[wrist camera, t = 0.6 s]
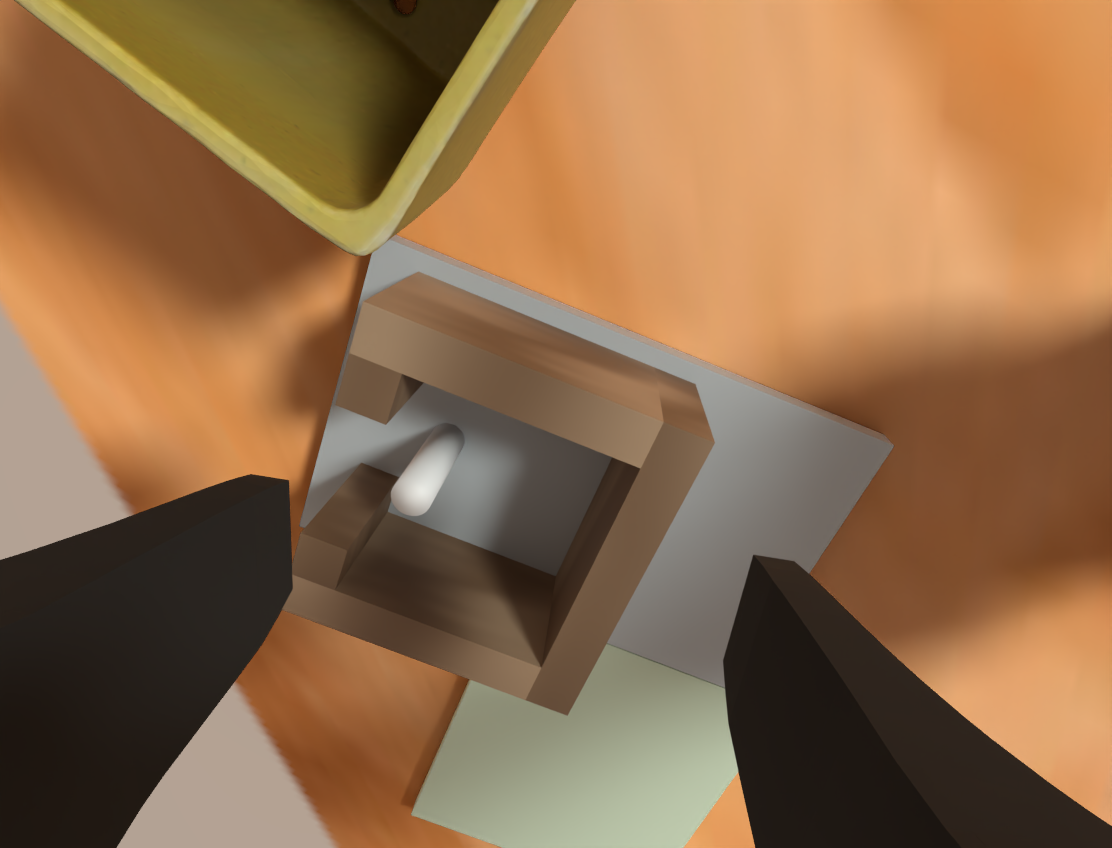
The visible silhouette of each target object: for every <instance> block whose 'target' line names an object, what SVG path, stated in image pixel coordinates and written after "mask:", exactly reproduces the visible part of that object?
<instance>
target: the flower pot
mask: <svg viewBox="0 0 1112 848" xmlns="http://www.w3.org/2000/svg"><path fill="white" fill-rule="evenodd" d="M14 1H16V2H17V3H18V4H20V5H21V6H22V7H23V8H25V9H26V10H27V11H29V12H30V13H31V14H32V15H34V16H35V17H36V18H38V19H39V20H40V21H41V22H43V23H44V24H45V25H47V26H48V27H49V28H50V29H52V30H53V31H54V32H56V33H57V34H58V35H60V36H61V37H62V38H64V39H65V40H66V41H67V42H69V43H70V44H71V45H73V46H74V47H75V48H77V49H78V50H79V51H81V52H82V53H83V54H85V55H86V56H87V57H89V58H90V59H91V60H93V61H94V62H95V63H97V64H98V65H99V66H101V67H102V68H103V69H104V70H106V71H107V72H108V73H110V74H111V75H112V76H113V77H115V78H116V79H117V80H119V81H120V82H121V83H122V84H124V85H125V86H126V87H127V88H129V89H130V90H131V91H132V92H134V93H135V94H136V95H137V96H139V97H140V98H141V99H143V100H144V101H145V102H146V103H148V104H149V105H150V106H152V107H153V108H155V109H156V110H157V111H159V112H160V113H161V114H163V115H164V116H165V117H167V118H168V119H170V120H171V121H172V122H173V123H175V124H176V125H177V126H179V127H180V128H181V129H183V130H184V131H185V132H187V133H188V134H189V135H190V136H192V137H193V138H194V139H196V140H197V141H198V142H199V143H201V144H202V145H203V146H205V147H206V148H207V149H208V150H210V151H211V152H212V153H213V154H214V155H216V156H217V157H218V158H219V159H220V160H222V161H223V162H224V163H225V164H227V165H228V166H229V167H230V168H232V169H233V170H234V171H236V172H237V173H239V174H240V175H241V176H243V177H244V178H245V179H247V180H248V181H249V182H251V183H252V184H253V185H255V186H256V187H257V188H259V189H260V190H261V191H263V192H264V193H265V194H267V195H268V196H269V197H271V198H272V199H273V200H275V201H276V202H277V203H278V204H280V205H281V206H282V207H283V208H284V209H286V210H287V211H288V212H290V213H291V214H293V215H294V216H295V217H296V218H298V219H299V220H300V221H302V222H303V223H304V224H306V225H307V226H308V227H309V228H311V229H312V230H314V231H315V232H317V233H318V234H320V235H321V236H323V237H324V238H326V239H327V240H329V241H331V242H332V243H333V244H335V245H336V246H338V247H339V248H341V249H342V250H344V251H346V252H348V253H350V254H352V255H355V256H365V255H368V254H370V253H373V252H374V251H376V250H378V249H379V248H380V247H381V246H382V245H384V244H385V243H386V242H387V241H388V240H389V239H391V238H392V237H393V236H394V235H396V234H397V233H398V232H399V231H401V230H402V229H403V228H405V227H406V226H407V225H408V224H410V223H411V222H412V221H413V220H414V219H416V218H417V217H418V216H419V215H420V214H422V213H423V212H424V211H425V210H426V209H427V208H428V207H429V206H431V205H432V204H433V203H434V202H435V201H436V200H437V199H439V198H440V197H441V196H442V195H443V194H444V193H445V192H447V191H448V190H449V189H450V187H451V186H452V185H453V184H454V183H455V182H456V181H457V180H458V179H459V177H460V176H461V174H462V173H463V172H464V170H465V169H466V168H467V166H468V165H469V163H470V161H471V160H472V158H473V157H474V155H475V154H476V152H477V150H478V149H479V147H480V146H481V144H482V142H483V141H484V139H485V138H486V136H487V135H488V133H489V132H490V130H491V128H492V127H493V125H494V124H495V122H496V121H497V119H498V118H499V116H500V115H501V113H502V111H503V110H504V108H505V107H506V105H507V104H508V102H509V101H510V99H511V98H512V96H513V94H514V93H515V91H516V90H517V88H518V87H519V85H520V84H521V82H522V81H523V79H524V78H525V76H526V74H527V73H528V71H529V70H530V68H531V67H532V65H533V64H534V62H535V61H536V59H537V58H538V56H539V55H540V53H541V52H542V50H543V49H544V47H545V46H546V44H547V43H548V41H549V40H550V38H551V37H552V35H553V34H554V32H555V31H556V29H557V28H558V26H559V25H560V23H561V22H562V20H563V19H564V17H565V16H566V14H567V13H568V11H569V10H570V8H571V7H572V5H573V4H574V2H575V1H576V0H417V1H416V7H415V9H414V10H413V11H412V12H411V13H410V14H402V13H401V12H399V11H398V10H397V8H396V7H395V4H394V0H14Z"/></svg>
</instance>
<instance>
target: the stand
mask: <svg viewBox="0 0 1112 848" xmlns="http://www.w3.org/2000/svg"><path fill="white" fill-rule="evenodd" d="M418 271H419V272H421V273H424V274H426V275H429V276H431V277H434V278H436V279H438V280H441V281H443V282H446V283H448V284H451V285H453V286H456V287H458V288H461V289H463V290H465V291H468V292H470V293H473V294H475V295H478V296H480V297H483V298H485V299H488V300H490V301H493V302H495V303H497V304H500V305H502V306H505V307H507V308H510V309H512V310H515V311H517V312H520V313H522V314H524V315H527V316H529V317H532V318H534V319H537V320H539V321H542V322H544V323H547V324H549V325H552V326H554V327H556V328H559V329H561V330H564V331H566V332H569V333H571V334H574V335H576V336H579V337H581V338H584V339H586V340H588V341H591V342H593V343H596V344H598V345H601V346H603V347H606V348H608V349H611V350H613V351H615V352H618V353H620V354H623V355H625V356H628V357H630V358H633V359H635V360H638V361H640V362H643V363H645V364H647V365H650V366H652V367H655V368H657V369H660V370H662V371H665V372H667V373H670V374H672V375H674V376H677V377H679V378H682V379H684V380H687V381H689V382H692V383H694V384H696V387H697V390H698V393H699V396H700V399H701V402H702V405H703V408H704V411H705V414H706V417H707V420H708V423H709V426H710V429H711V432H712V435H713V438H714V441H715V444H714V446H713V448H712V450H711V451H710V453H709V455H708V457H707V459H706V461H705V462H704V464H703V466H702V468H701V470H700V472H699V474H698V475H697V477H696V479H695V481H694V483H693V485H692V487H691V488H690V490H689V492H688V494H687V496H686V498H685V499H684V501H683V503H682V505H681V507H680V509H679V511H678V512H677V514H676V516H675V518H674V520H673V522H672V524H671V525H670V527H669V529H668V531H667V533H666V535H665V536H664V538H663V540H662V542H661V544H660V546H659V548H658V549H657V551H656V553H655V555H654V557H653V559H652V561H651V562H650V564H649V566H648V568H647V570H646V572H645V573H644V575H643V577H642V579H641V581H640V583H639V585H638V586H637V588H636V590H635V592H634V594H633V596H632V598H631V599H630V601H629V603H628V605H627V607H626V609H625V610H624V612H623V614H622V616H621V618H620V620H619V622H618V623H617V625H616V627H615V629H614V631H613V633H612V635H611V636H610V638H609V640H608V642H607V643H608V644H611V645H614V646H616V647H619V648H622V649H624V650H627V651H630V652H632V653H635V654H637V655H640V656H643V657H645V658H648V659H651V660H653V661H656V662H659V663H661V664H664V665H666V666H669V667H672V668H674V669H677V670H680V671H682V672H685V673H688V674H690V675H693V676H695V677H698V678H701V679H703V680H706V681H709V682H711V683H714V684H717V685H719V686H722V687H724V688H725V682H724V669H723V659H724V655H725V652H726V648H727V645H728V641H729V638H730V634H731V631H732V627H733V624H734V620H735V617H736V613H737V610H738V606H739V603H740V599H741V596H742V592H743V589H744V585H745V582H746V578H747V575H748V571H749V568H750V564H751V561H752V557H753V555H759V556H766V557H772V558H778V559H784V560H791V561H795V562H796V563H797V564H798V565H799V566H801V567H802V568H803V569H804V570H805V571H806V572H807V573H810V572H811V570H812V569H813V567H814V566H815V564H816V563H817V561H818V560H819V558H820V557H821V555H822V554H823V552H824V551H825V549H826V548H827V546H828V545H829V543H830V542H831V540H832V539H833V537H834V536H835V534H836V533H837V531H838V530H839V528H840V527H841V525H842V524H843V522H844V521H845V519H846V518H847V516H848V515H849V513H850V512H851V510H852V509H853V507H854V506H855V504H856V503H857V501H858V500H859V498H860V497H861V495H862V494H863V492H864V491H865V489H866V488H867V486H868V485H869V483H870V482H871V480H872V479H873V477H874V476H875V474H876V473H877V471H878V470H879V468H880V467H881V465H882V464H883V462H884V461H885V459H886V458H887V456H888V455H889V453H890V452H891V450H892V449H893V447H894V445H893V444H892V443H891V442H890V441H889V439H888V438H887V437H886V436H885V435H884V434H881V433H879V432H877V431H874V430H872V429H869V428H867V427H864V426H862V425H859V424H857V423H855V422H852V421H850V420H847V419H845V418H842V417H840V416H837V415H835V414H833V413H830V412H828V411H825V410H823V409H820V408H818V407H815V406H813V405H811V404H808V403H806V402H803V401H801V400H798V399H796V398H793V397H791V396H789V395H786V394H784V393H781V392H779V391H776V390H774V389H771V388H769V387H767V386H764V385H762V384H759V383H757V382H754V381H752V380H749V379H747V378H745V377H742V376H740V375H737V374H735V373H732V372H730V371H727V370H725V369H723V368H720V367H718V366H715V365H713V364H710V363H708V362H705V361H703V360H701V359H698V358H696V357H693V356H691V355H688V354H686V353H683V352H681V351H679V350H676V349H674V348H671V347H669V346H666V345H664V344H662V343H659V342H657V341H654V340H652V339H649V338H647V337H644V336H642V335H640V334H637V333H635V332H632V331H630V330H627V329H625V328H622V327H620V326H618V325H615V324H613V323H610V322H608V321H605V320H603V319H600V318H598V317H596V316H593V315H591V314H588V313H586V312H583V311H581V310H578V309H576V308H574V307H571V306H569V305H566V304H564V303H561V302H559V301H556V300H554V299H552V298H549V297H547V296H544V295H542V294H539V293H537V292H534V291H532V290H530V289H527V288H525V287H522V286H520V285H517V284H515V283H512V282H510V281H508V280H505V279H503V278H500V277H498V276H495V275H493V274H490V273H488V272H486V271H483V270H481V269H478V268H476V267H473V266H471V265H468V264H466V263H464V262H461V261H459V260H456V259H454V258H451V257H449V256H446V255H444V254H442V253H439V252H437V251H434V250H432V249H429V248H427V247H424V246H422V245H420V244H417V243H415V242H412V241H410V240H407V239H405V238H402V237H400V236H398V235H394V236H393V237H392V238H391V239H389V240H388V241H387V242H386V243H385V244H384V245H382V246H381V247H380V248H379V249H378V250H376V251H374V252H373V253H372V255H371V259H370V263H369V266H368V270H367V274H366V278H365V281H364V285H363V289H362V293H361V296H360V300H359V304H358V308H357V311H356V315H355V319H354V323H353V326H352V330H351V334H350V338H349V341H348V345H347V349H346V352H345V356H344V360H343V364H342V367H341V371H340V375H339V379H338V382H337V386H336V390H335V394H334V397H333V401H332V405H331V409H330V412H329V416H328V420H327V424H326V427H325V431H324V435H323V439H322V442H321V446H320V450H319V454H318V457H317V461H316V465H315V469H314V472H313V476H312V480H311V484H310V487H309V491H308V495H307V498H306V502H305V506H304V510H303V513H302V517H301V521H300V525H299V526H300V527H303V528H305V527H306V526H307V525H308V524H309V523H310V521H311V520H312V519H313V518H314V517H315V516H316V514H317V513H318V512H319V511H320V510H321V509H322V508H323V506H324V505H325V504H326V503H327V502H328V501H329V499H330V498H331V497H332V496H333V495H334V494H335V492H336V491H337V490H338V489H339V488H340V487H341V486H342V484H343V483H344V482H345V481H346V480H347V479H348V477H349V476H350V475H351V474H352V473H353V472H354V471H355V469H356V468H357V467H358V466H359V465H360V464H361V463H364V464H366V465H369V466H372V467H374V468H377V469H379V470H382V471H384V472H387V473H390V474H392V475H395V476H397V477H399V479H398V481H397V482H396V483H395V485H394V486H393V488H392V490H391V503H390V506H389V509H388V512H390V513H392V514H395V515H398V516H400V517H403V518H405V519H408V520H411V521H413V522H416V523H418V524H421V525H424V526H426V527H429V528H431V529H434V530H437V531H439V532H442V533H444V534H447V535H450V536H452V537H455V538H458V539H460V540H463V541H465V542H468V543H471V544H473V545H476V546H478V547H481V548H484V549H486V550H489V551H491V552H494V553H497V554H499V555H502V556H504V557H507V558H510V559H512V560H515V561H517V562H520V563H523V564H525V565H528V566H530V567H533V568H536V569H538V570H541V571H543V572H546V573H549V574H551V575H554V576H556V575H557V573H558V571H559V569H560V567H561V564H562V562H563V560H564V558H565V556H566V554H567V552H568V550H569V548H570V545H571V543H572V541H573V539H574V537H575V535H576V533H577V531H578V529H579V526H580V524H581V522H582V520H583V518H584V516H585V514H586V512H587V510H588V507H589V505H590V503H591V501H592V499H593V497H594V495H595V493H596V491H597V488H598V486H599V484H600V482H601V480H602V478H603V476H604V474H605V472H606V469H607V467H608V465H609V463H610V461H611V459H612V457H610V456H608V455H605V454H603V453H600V452H598V451H595V450H593V449H590V448H588V447H585V446H583V445H580V444H578V443H575V442H573V441H570V440H567V439H565V438H562V437H560V436H557V435H555V434H552V433H550V432H547V431H545V430H542V429H540V428H537V427H535V426H532V425H530V424H527V423H525V422H522V421H520V420H517V419H515V418H512V417H510V416H507V415H504V414H502V413H499V412H497V411H494V410H492V409H489V408H487V407H484V406H482V405H479V404H477V403H474V402H472V401H469V400H467V399H464V398H462V397H459V396H457V395H454V394H452V393H449V392H447V391H444V390H441V389H439V388H436V387H434V386H431V385H429V384H426V383H423V384H422V385H421V386H420V388H419V389H418V390H417V391H416V392H415V393H414V394H413V395H412V396H411V398H410V399H409V400H408V401H407V402H406V403H405V404H404V405H403V407H402V408H401V409H400V410H399V411H398V412H397V413H396V414H395V415H394V417H393V418H392V419H391V420H390V421H389V422H388V423H387V424H386V425H385V424H382V423H380V422H377V421H374V420H372V419H369V418H367V417H364V416H362V415H359V414H357V413H354V412H351V411H349V410H346V409H344V408H341V407H339V406H336V405H335V404H336V400H337V396H338V392H339V389H340V385H341V381H342V378H343V374H344V370H345V366H346V363H347V359H348V355H349V352H350V348H351V344H352V340H353V337H354V333H355V329H356V326H357V322H358V318H359V315H360V311H361V307H362V303H363V301H364V300H366V299H368V298H370V297H372V296H374V295H376V294H377V293H379V292H381V291H383V290H385V289H387V288H389V287H391V286H392V285H394V284H396V283H398V282H400V281H402V280H404V279H405V278H407V277H409V276H411V275H413V274H415V273H417V272H418Z"/></svg>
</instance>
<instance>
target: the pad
mask: <svg viewBox="0 0 1112 848" xmlns="http://www.w3.org/2000/svg"><path fill="white" fill-rule="evenodd" d="M737 773H738V767H737V762H736V758H735V753H734V748H733V744H732V739H731V734H730V729H729V724H728V715H727V705H726V695H725V688H724V687H722V686H719V685H717V684H714V683H711V682H709V681H706V680H703V679H701V678H698V677H695V676H693V675H690V674H688V673H685V672H682V671H680V670H677V669H674V668H672V667H669V666H666V665H664V664H661V663H659V662H656V661H653V660H651V659H648V658H645V657H643V656H640V655H637V654H635V653H632V652H630V651H627V650H624V649H622V648H619V647H616V646H614V645H611V644H608V643H607V644H606V646H605V647H604V649H603V651H602V653H601V655H600V657H599V659H598V660H597V662H596V664H595V666H594V668H593V670H592V672H591V673H590V675H589V677H588V679H587V681H586V683H585V684H584V686H583V688H582V690H581V692H580V694H579V696H578V697H577V699H576V701H575V703H574V705H573V707H572V709H571V710H570V712H569V714H568V716H567V715H564V714H561V713H558V712H556V711H553V710H550V709H548V708H545V707H542V706H540V705H537V704H534V703H532V702H529V701H526V700H523V699H521V698H518V697H515V696H513V695H510V694H507V693H505V692H502V691H499V690H497V689H494V688H491V687H488V686H486V685H483V684H480V683H478V682H475V681H472V680H470V679H469V681H468V683H467V686H466V688H465V690H464V692H463V695H462V697H461V699H460V701H459V704H458V706H457V708H456V710H455V713H454V715H453V717H452V720H451V722H450V724H449V726H448V729H447V731H446V733H445V735H444V738H443V740H442V742H441V744H440V747H439V749H438V751H437V753H436V756H435V758H434V760H433V762H432V765H431V767H430V769H429V771H428V774H427V776H426V778H425V781H424V783H423V785H422V787H421V790H420V792H419V794H418V796H417V799H416V801H415V804H414V807H413V810H412V813H411V815H412V816H415V817H418V818H421V819H424V820H426V821H429V822H432V823H435V824H438V825H440V826H443V827H446V828H449V829H452V830H454V831H457V832H460V833H463V834H466V835H468V836H471V837H474V838H477V839H480V840H482V841H485V842H488V843H491V844H494V845H496V846H499V847H502V848H683V847H684V846H685V845H686V843H687V842H688V841H689V839H690V838H691V836H692V835H693V834H694V832H695V831H696V829H697V828H698V827H699V825H700V824H701V823H702V821H703V820H704V818H705V817H706V816H707V814H708V813H709V811H710V810H711V809H712V807H713V806H714V805H715V803H716V802H717V800H718V799H719V798H720V796H721V795H722V793H723V792H724V791H725V789H726V788H727V786H728V785H729V784H730V782H731V781H732V780H733V778H734V777H735V775H736V774H737Z"/></svg>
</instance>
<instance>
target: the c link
mask: <svg viewBox="0 0 1112 848" xmlns="http://www.w3.org/2000/svg"><path fill="white" fill-rule="evenodd" d="M423 383H426V384H429V385H431V386H434V387H436V388H439V389H441V390H444V391H447V392H449V393H452V394H454V395H457V396H459V397H462V398H464V399H467V400H469V401H472V402H474V403H477V404H479V405H482V406H484V407H487V408H489V409H492V410H494V411H497V412H499V413H502V414H504V415H507V416H510V417H512V418H515V419H517V420H520V421H522V422H525V423H527V424H530V425H532V426H535V427H537V428H540V429H542V430H545V431H547V432H550V433H552V434H555V435H557V436H560V437H562V438H565V439H567V440H570V441H573V442H575V443H578V444H580V445H583V446H585V447H588V448H590V449H593V450H595V451H598V452H600V453H603V454H605V455H608V456H610V457H612V459H611V461H610V463H609V465H608V467H607V469H606V472H605V474H604V476H603V478H602V480H601V482H600V484H599V486H598V488H597V491H596V493H595V495H594V497H593V499H592V501H591V503H590V505H589V507H588V510H587V512H586V514H585V516H584V518H583V520H582V522H581V524H580V526H579V529H578V531H577V533H576V535H575V537H574V539H573V541H572V543H571V545H570V548H569V550H568V552H567V554H566V556H565V558H564V560H563V562H562V564H561V567H560V569H559V571H558V573H557V575H556V576H554V575H551V574H549V573H546V572H543V571H541V570H538V569H536V568H533V567H530V566H528V565H525V564H523V563H520V562H517V561H515V560H512V559H510V558H507V557H504V556H502V555H499V554H497V553H494V552H491V551H489V550H486V549H484V548H481V547H478V546H476V545H473V544H471V543H468V542H465V541H463V540H460V539H458V538H455V537H452V536H450V535H447V534H444V533H442V532H439V531H437V530H434V529H431V528H429V527H426V526H424V525H421V524H418V523H416V522H413V521H411V520H408V519H405V518H403V517H400V516H398V515H395V514H392V513H390V512H388V509H389V506H390V503H391V490H392V488H393V486H394V485H395V483H396V482H397V481H398V479H399V477H397V476H395V475H392V474H390V473H387V472H384V471H382V470H379V469H377V468H374V467H372V466H369V465H366V464H364V463H361V464H360V465H359V466H358V467H357V468H356V469H355V471H354V472H353V473H352V474H351V475H350V476H349V477H348V479H347V480H346V481H345V482H344V483H343V484H342V486H341V487H340V488H339V489H338V490H337V491H336V492H335V494H334V495H333V496H332V497H331V498H330V499H329V501H328V502H327V503H326V504H325V505H324V506H323V508H322V509H321V510H320V511H319V512H318V513H317V514H316V516H315V517H314V518H313V519H312V520H311V521H310V523H309V524H308V525H307V526H306V527H305V528H304V529H303V531H302V532H301V533H300V537H299V541H298V545H297V548H296V552H295V556H294V559H293V563H292V578H293V590H292V592H291V593H290V595H289V597H288V599H287V601H286V603H285V605H284V606H283V608H282V610H284V611H286V612H289V613H292V614H295V615H297V616H300V617H303V618H305V619H308V620H311V621H313V622H316V623H319V624H321V625H324V626H327V627H330V628H332V629H335V630H338V631H340V632H343V633H346V634H348V635H351V636H354V637H356V638H359V639H362V640H365V641H367V642H370V643H373V644H375V645H378V646H381V647H383V648H386V649H389V650H391V651H394V652H397V653H400V654H402V655H405V656H408V657H410V658H413V659H416V660H418V661H421V662H424V663H426V664H429V665H432V666H435V667H437V668H440V669H443V670H445V671H448V672H451V673H453V674H456V675H459V676H462V677H464V678H467V679H470V680H472V681H475V682H478V683H480V684H483V685H486V686H488V687H491V688H494V689H497V690H499V691H502V692H505V693H507V694H510V695H513V696H515V697H518V698H521V699H523V700H526V701H529V702H532V703H534V704H537V705H540V706H542V707H545V708H548V709H550V710H553V711H556V712H558V713H561V714H564V715H567V716H568V714H569V712H570V710H571V709H572V707H573V705H574V703H575V701H576V699H577V697H578V696H579V694H580V692H581V690H582V688H583V686H584V684H585V683H586V681H587V679H588V677H589V675H590V673H591V672H592V670H593V668H594V666H595V664H596V662H597V660H598V659H599V657H600V655H601V653H602V651H603V649H604V647H605V646H606V644H607V642H608V640H609V638H610V636H611V635H612V633H613V631H614V629H615V627H616V625H617V623H618V622H619V620H620V618H621V616H622V614H623V612H624V610H625V609H626V607H627V605H628V603H629V601H630V599H631V598H632V596H633V594H634V592H635V590H636V588H637V586H638V585H639V583H640V581H641V579H642V577H643V575H644V573H645V572H646V570H647V568H648V566H649V564H650V562H651V561H652V559H653V557H654V555H655V553H656V551H657V549H658V548H659V546H660V544H661V542H662V540H663V538H664V536H665V535H666V533H667V531H668V529H669V527H670V525H671V524H672V522H673V520H674V518H675V516H676V514H677V512H678V511H679V509H680V507H681V505H682V503H683V501H684V499H685V498H686V496H687V494H688V492H689V490H690V488H691V487H692V485H693V483H694V481H695V479H696V477H697V475H698V474H699V472H700V470H701V468H702V466H703V464H704V462H705V461H706V459H707V457H708V455H709V453H710V451H711V450H712V448H713V446H714V444H715V441H714V438H713V435H712V432H711V429H710V426H709V423H708V420H707V417H706V414H705V411H704V408H703V405H702V402H701V399H700V396H699V393H698V390H697V387H696V384H694V383H692V382H689V381H687V380H684V379H682V378H679V377H677V376H674V375H672V374H670V373H667V372H665V371H662V370H660V369H657V368H655V367H652V366H650V365H647V364H645V363H643V362H640V361H638V360H635V359H633V358H630V357H628V356H625V355H623V354H620V353H618V352H615V351H613V350H611V349H608V348H606V347H603V346H601V345H598V344H596V343H593V342H591V341H588V340H586V339H584V338H581V337H579V336H576V335H574V334H571V333H569V332H566V331H564V330H561V329H559V328H556V327H554V326H552V325H549V324H547V323H544V322H542V321H539V320H537V319H534V318H532V317H529V316H527V315H524V314H522V313H520V312H517V311H515V310H512V309H510V308H507V307H505V306H502V305H500V304H497V303H495V302H493V301H490V300H488V299H485V298H483V297H480V296H478V295H475V294H473V293H470V292H468V291H465V290H463V289H461V288H458V287H456V286H453V285H451V284H448V283H446V282H443V281H441V280H438V279H436V278H434V277H431V276H429V275H426V274H424V273H421V272H419V271H418V272H417V273H415V274H413V275H411V276H409V277H407V278H405V279H404V280H402V281H400V282H398V283H396V284H394V285H392V286H391V287H389V288H387V289H385V290H383V291H381V292H379V293H377V294H376V295H374V296H372V297H370V298H368V299H366V300H364V301H363V303H362V307H361V311H360V315H359V318H358V322H357V326H356V329H355V333H354V337H353V340H352V344H351V348H350V352H349V355H348V359H347V363H346V366H345V370H344V374H343V378H342V381H341V385H340V389H339V392H338V396H337V400H336V404H335V405H336V406H339V407H341V408H344V409H346V410H349V411H351V412H354V413H357V414H359V415H362V416H364V417H367V418H369V419H372V420H374V421H377V422H380V423H382V424H385V425H386V424H387V423H388V422H389V421H390V420H391V419H392V418H393V417H394V415H395V414H396V413H397V412H398V411H399V410H400V409H401V408H402V407H403V405H404V404H405V403H406V402H407V401H408V400H409V399H410V398H411V396H412V395H413V394H414V393H415V392H416V391H417V390H418V389H419V388H420V386H421V385H422V384H423Z"/></svg>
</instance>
